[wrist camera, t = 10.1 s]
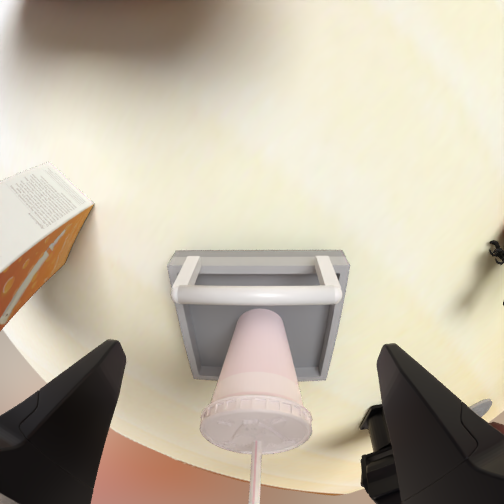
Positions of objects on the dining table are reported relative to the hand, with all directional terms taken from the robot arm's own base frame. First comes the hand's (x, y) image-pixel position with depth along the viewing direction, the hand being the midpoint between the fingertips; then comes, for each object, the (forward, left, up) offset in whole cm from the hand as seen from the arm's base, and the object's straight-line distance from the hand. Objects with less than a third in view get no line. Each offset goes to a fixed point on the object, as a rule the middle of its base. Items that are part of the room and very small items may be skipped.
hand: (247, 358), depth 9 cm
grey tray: (-8, 0, -13) cm, 15 cm away
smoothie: (-8, 0, -11) cm, 14 cm away
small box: (+1, +18, -13) cm, 22 cm away
